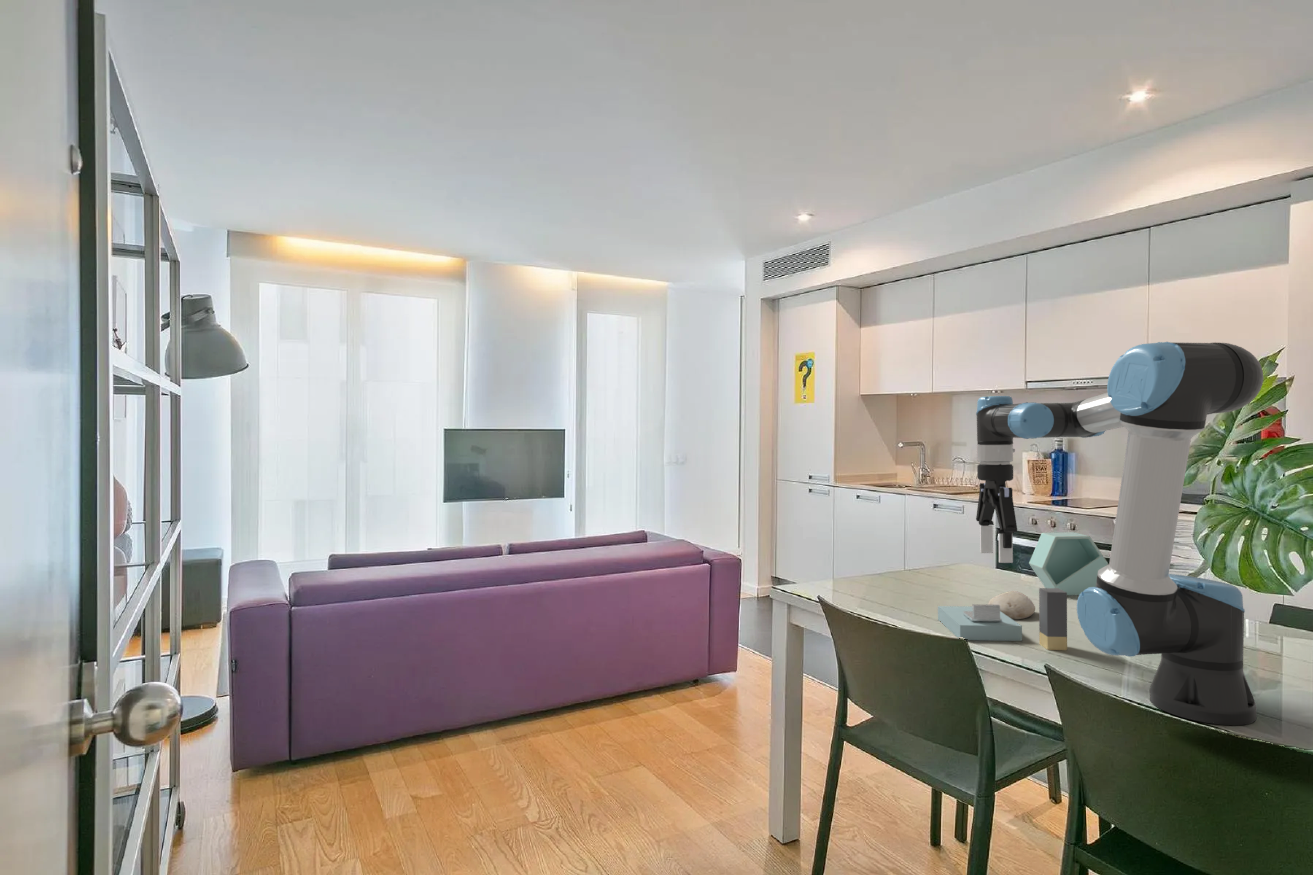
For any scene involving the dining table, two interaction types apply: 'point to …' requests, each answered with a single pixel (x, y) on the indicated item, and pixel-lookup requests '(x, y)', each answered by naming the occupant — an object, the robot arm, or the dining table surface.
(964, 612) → the shutter
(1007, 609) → the stone
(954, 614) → the socket board
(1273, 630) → the dining table surface
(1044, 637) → the plug
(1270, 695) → the dining table surface
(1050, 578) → the planter
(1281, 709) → the dining table surface
